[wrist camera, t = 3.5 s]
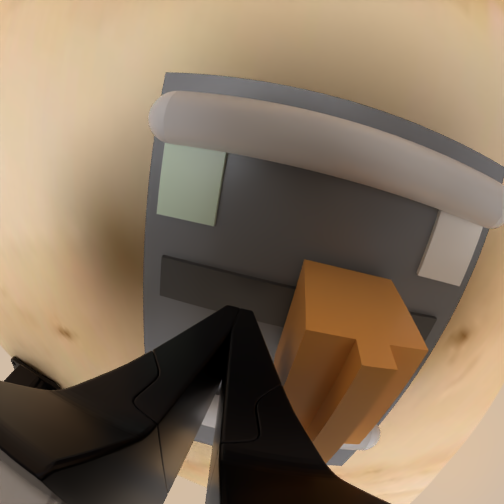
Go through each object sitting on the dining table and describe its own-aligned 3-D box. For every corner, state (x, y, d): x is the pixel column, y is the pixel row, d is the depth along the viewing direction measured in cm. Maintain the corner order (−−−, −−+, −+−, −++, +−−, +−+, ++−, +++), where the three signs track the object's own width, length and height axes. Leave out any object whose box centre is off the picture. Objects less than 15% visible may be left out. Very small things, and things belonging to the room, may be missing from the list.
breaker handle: (349, 368, 10) (360, 465, 6) (274, 354, 11) (259, 455, 6) (391, 279, 9) (439, 373, 5) (304, 259, 9) (305, 355, 5)
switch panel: (340, 441, 16) (342, 486, 13) (162, 403, 17) (142, 445, 13) (478, 161, 9) (532, 175, 6) (187, 81, 10) (142, 62, 6)
